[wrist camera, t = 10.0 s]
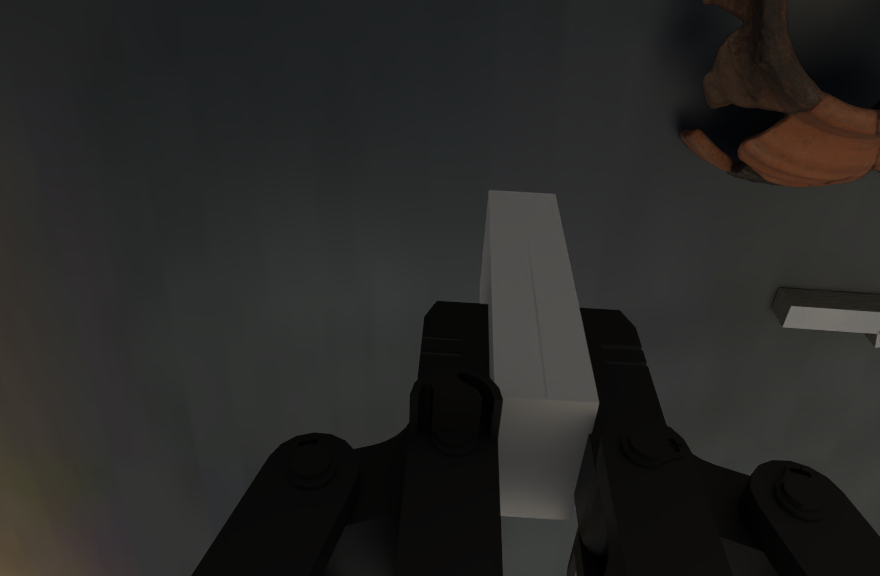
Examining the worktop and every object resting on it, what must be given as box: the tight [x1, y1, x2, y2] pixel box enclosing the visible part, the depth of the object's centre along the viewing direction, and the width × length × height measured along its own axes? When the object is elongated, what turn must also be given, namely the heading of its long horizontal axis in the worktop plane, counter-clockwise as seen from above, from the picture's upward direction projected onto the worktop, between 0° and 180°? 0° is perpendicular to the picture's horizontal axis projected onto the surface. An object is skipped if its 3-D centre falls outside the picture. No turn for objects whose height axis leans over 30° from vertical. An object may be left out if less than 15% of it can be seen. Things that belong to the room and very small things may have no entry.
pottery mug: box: [680, 0, 880, 187], centre depth 23 cm, size 12×9×8 cm
